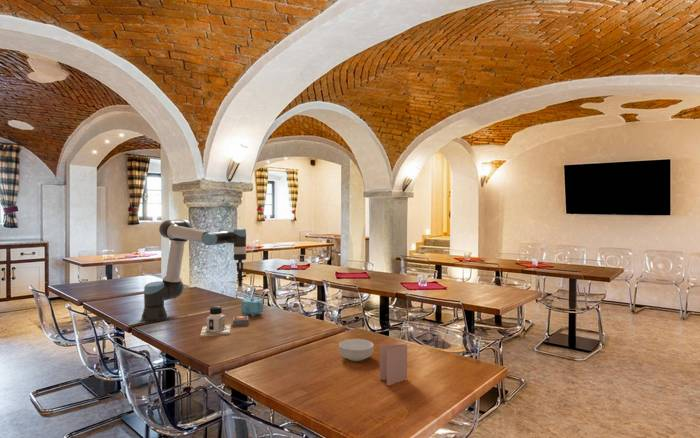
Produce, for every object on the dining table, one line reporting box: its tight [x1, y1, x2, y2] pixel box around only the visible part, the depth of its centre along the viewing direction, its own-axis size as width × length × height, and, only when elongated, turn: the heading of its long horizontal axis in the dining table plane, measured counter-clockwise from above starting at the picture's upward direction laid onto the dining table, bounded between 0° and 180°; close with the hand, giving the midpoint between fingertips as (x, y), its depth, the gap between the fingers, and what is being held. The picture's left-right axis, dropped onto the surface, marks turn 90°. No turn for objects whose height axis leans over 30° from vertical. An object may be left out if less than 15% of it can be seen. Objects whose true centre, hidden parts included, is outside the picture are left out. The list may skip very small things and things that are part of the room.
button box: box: [232, 315, 249, 327], centre depth 263 cm, size 9×9×4 cm
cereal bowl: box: [338, 338, 375, 362], centre depth 204 cm, size 17×17×7 cm
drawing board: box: [199, 323, 232, 338], centre depth 247 cm, size 18×16×1 cm
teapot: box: [240, 296, 264, 318], centre depth 286 cm, size 16×18×11 cm
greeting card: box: [379, 344, 408, 386], centre depth 176 cm, size 11×7×15 cm, turn 92°
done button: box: [235, 315, 246, 320], centre depth 263 cm, size 6×6×2 cm
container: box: [206, 306, 226, 331], centre depth 247 cm, size 8×8×13 cm
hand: (240, 291), depth 263 cm, fingers closed
